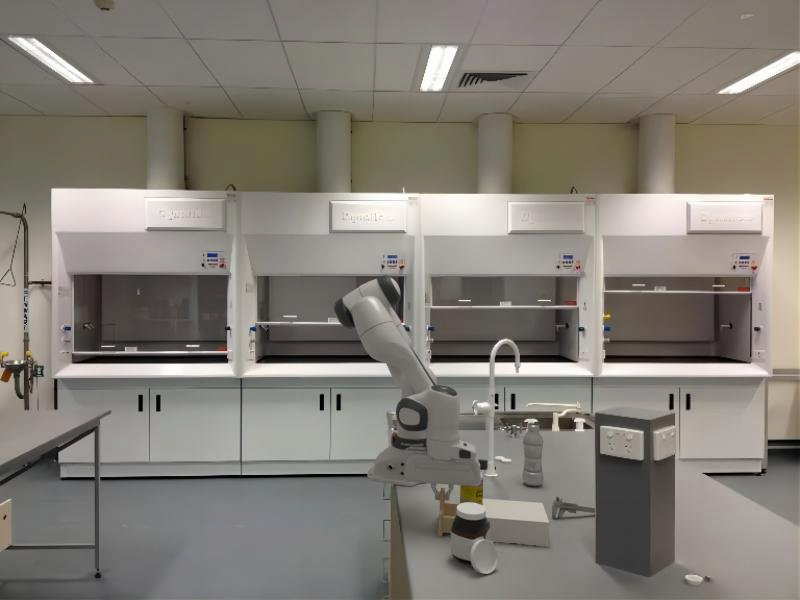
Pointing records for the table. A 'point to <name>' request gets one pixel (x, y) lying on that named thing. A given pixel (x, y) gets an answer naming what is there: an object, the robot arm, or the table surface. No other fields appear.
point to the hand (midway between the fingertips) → (442, 499)
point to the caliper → (568, 507)
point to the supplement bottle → (472, 493)
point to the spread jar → (473, 538)
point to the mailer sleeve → (517, 522)
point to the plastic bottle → (533, 456)
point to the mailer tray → (446, 514)
